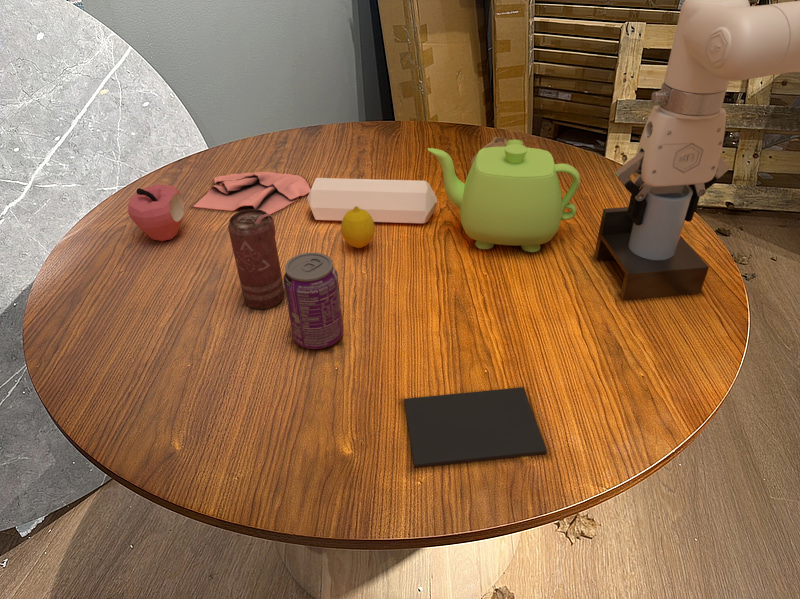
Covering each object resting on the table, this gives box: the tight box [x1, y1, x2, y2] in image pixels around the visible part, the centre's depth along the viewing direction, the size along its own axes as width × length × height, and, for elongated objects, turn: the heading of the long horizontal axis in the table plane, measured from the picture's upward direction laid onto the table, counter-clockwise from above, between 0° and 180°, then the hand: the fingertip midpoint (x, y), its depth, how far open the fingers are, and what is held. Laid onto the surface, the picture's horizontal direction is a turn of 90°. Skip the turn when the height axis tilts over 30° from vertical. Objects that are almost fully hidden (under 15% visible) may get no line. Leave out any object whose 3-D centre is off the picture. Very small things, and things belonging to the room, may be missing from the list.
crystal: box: [306, 177, 439, 224], centre depth 112 cm, size 7×7×24 cm
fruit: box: [340, 206, 376, 249], centre depth 102 cm, size 6×6×8 cm
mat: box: [403, 386, 548, 469], centre depth 73 cm, size 15×10×1 cm, turn 96°
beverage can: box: [282, 252, 344, 350], centre depth 83 cm, size 7×7×12 cm
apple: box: [127, 183, 185, 242], centre depth 106 cm, size 10×9×10 cm
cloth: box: [192, 171, 311, 215], centre depth 121 cm, size 20×22×2 cm
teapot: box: [427, 139, 581, 253], centre depth 105 cm, size 25×22×16 cm
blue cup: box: [628, 182, 693, 260], centre depth 91 cm, size 7×7×10 cm
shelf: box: [593, 206, 710, 301], centre depth 94 cm, size 12×12×9 cm
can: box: [227, 209, 286, 310], centre depth 90 cm, size 6×6×14 cm
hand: (659, 217), depth 91 cm, fingers closed on blue cup, 6 cm apart
